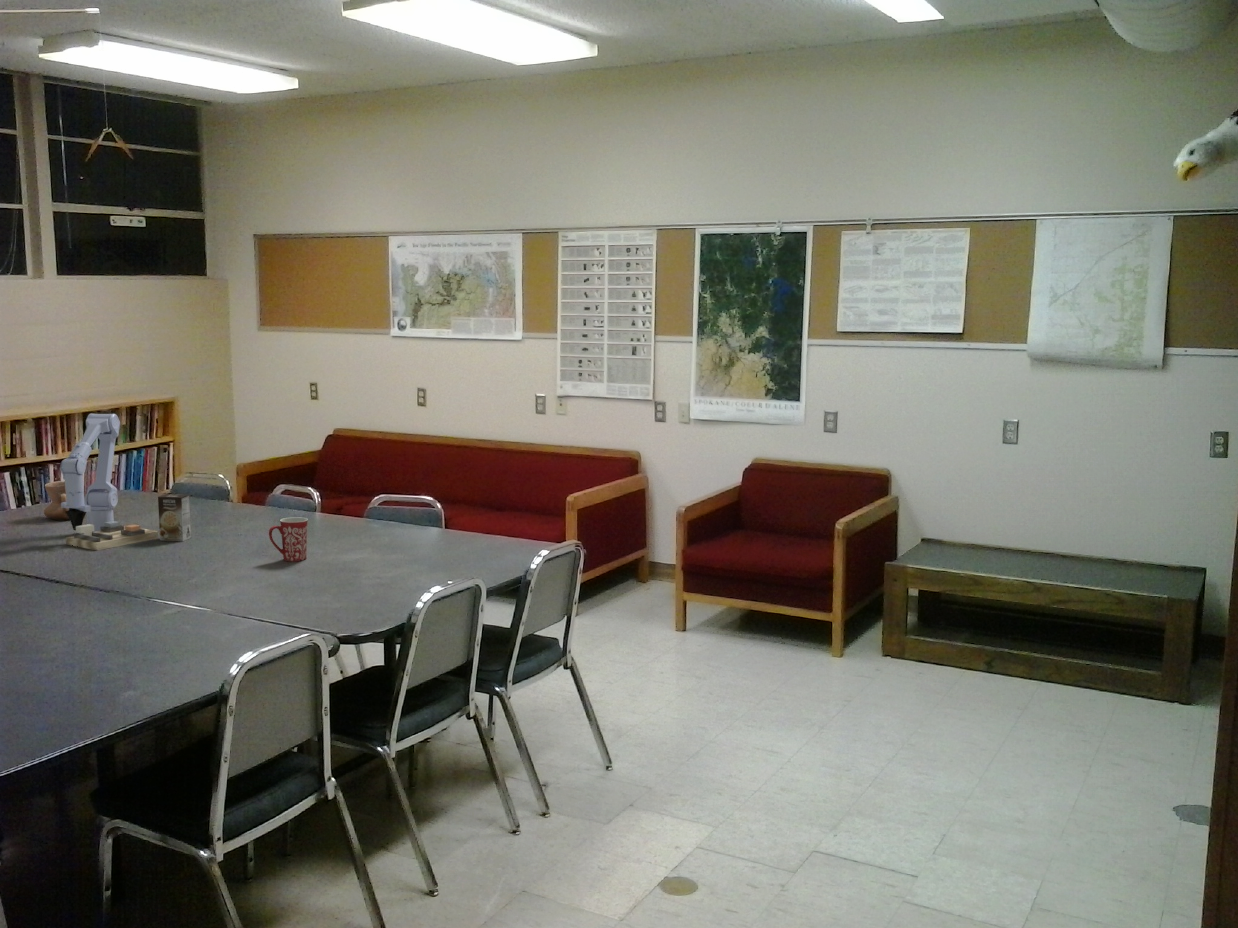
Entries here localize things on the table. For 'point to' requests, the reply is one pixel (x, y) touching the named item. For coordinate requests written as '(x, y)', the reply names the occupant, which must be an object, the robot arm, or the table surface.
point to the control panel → (110, 538)
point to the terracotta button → (132, 527)
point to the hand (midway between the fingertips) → (77, 529)
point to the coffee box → (174, 517)
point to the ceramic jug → (56, 501)
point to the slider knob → (85, 529)
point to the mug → (292, 538)
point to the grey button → (112, 524)
